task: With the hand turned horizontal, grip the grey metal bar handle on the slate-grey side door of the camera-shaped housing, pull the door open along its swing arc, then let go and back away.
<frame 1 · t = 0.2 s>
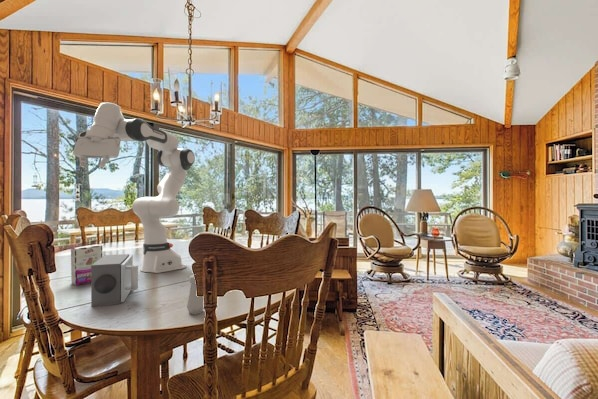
hand: (91, 166, 123), 52 cm above the table, tool tilted 20°, fingers open, 8 cm apart
housing: (111, 296, 117), on the table
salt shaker: (195, 312, 104), on the table
candy bar box: (87, 282, 136), on the table
door: (133, 276, 120), point 7 cm above the table, hinge at 0.0°
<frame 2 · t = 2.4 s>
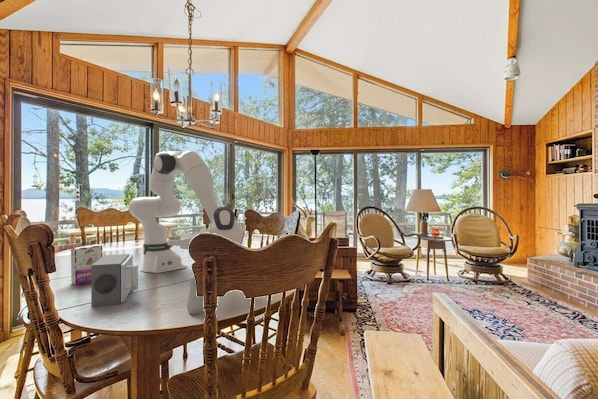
hand: (168, 240, 119), 22 cm above the table, tool horizontal, fingers open, 8 cm apart
nothing on the table moved.
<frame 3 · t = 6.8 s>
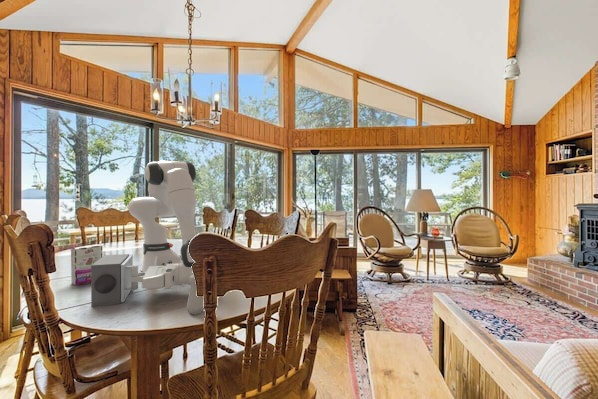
hand: (132, 277, 115), 9 cm above the table, tool horizontal, fingers closed on door, 2 cm apart
door: (133, 276, 120), point 8 cm above the table, hinge at 0.0°, touching gripper
everything else where it was.
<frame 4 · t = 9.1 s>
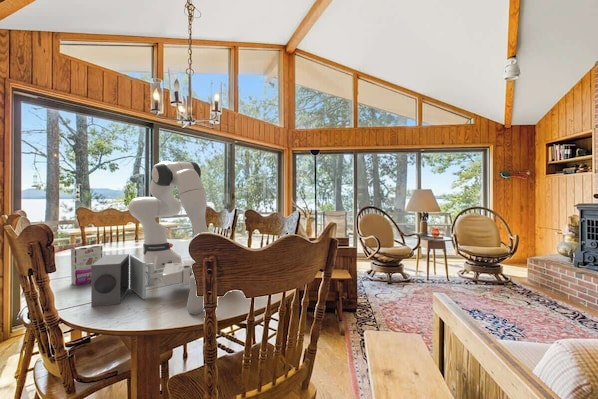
hand: (151, 274, 120), 9 cm above the table, tool horizontal, fingers open, 3 cm apart
door: (142, 274, 122), point 7 cm above the table, hinge at 23.3°, touching gripper
everything else where it was.
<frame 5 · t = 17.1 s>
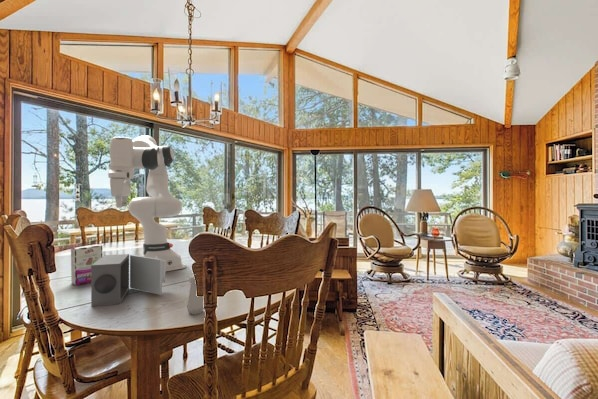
hand: (121, 207, 126), 35 cm above the table, tool pointing down, fingers open, 8 cm apart
door: (149, 272, 125), point 7 cm above the table, hinge at 44.8°
everything else where it was.
at the end: door at +45° (first picture: +0°); the gripper is holding nothing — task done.
